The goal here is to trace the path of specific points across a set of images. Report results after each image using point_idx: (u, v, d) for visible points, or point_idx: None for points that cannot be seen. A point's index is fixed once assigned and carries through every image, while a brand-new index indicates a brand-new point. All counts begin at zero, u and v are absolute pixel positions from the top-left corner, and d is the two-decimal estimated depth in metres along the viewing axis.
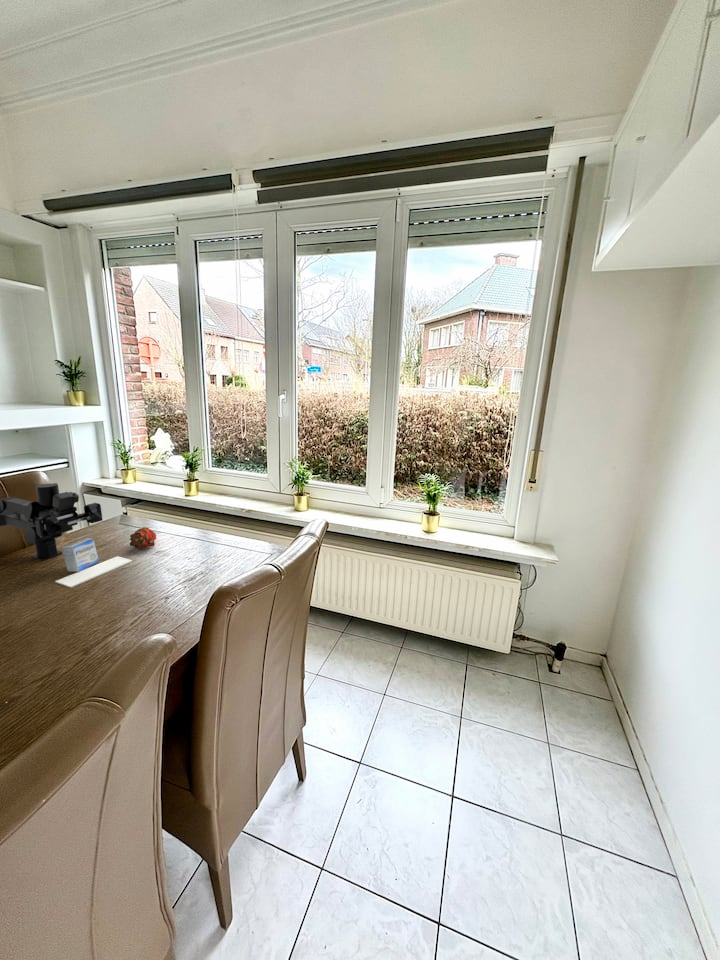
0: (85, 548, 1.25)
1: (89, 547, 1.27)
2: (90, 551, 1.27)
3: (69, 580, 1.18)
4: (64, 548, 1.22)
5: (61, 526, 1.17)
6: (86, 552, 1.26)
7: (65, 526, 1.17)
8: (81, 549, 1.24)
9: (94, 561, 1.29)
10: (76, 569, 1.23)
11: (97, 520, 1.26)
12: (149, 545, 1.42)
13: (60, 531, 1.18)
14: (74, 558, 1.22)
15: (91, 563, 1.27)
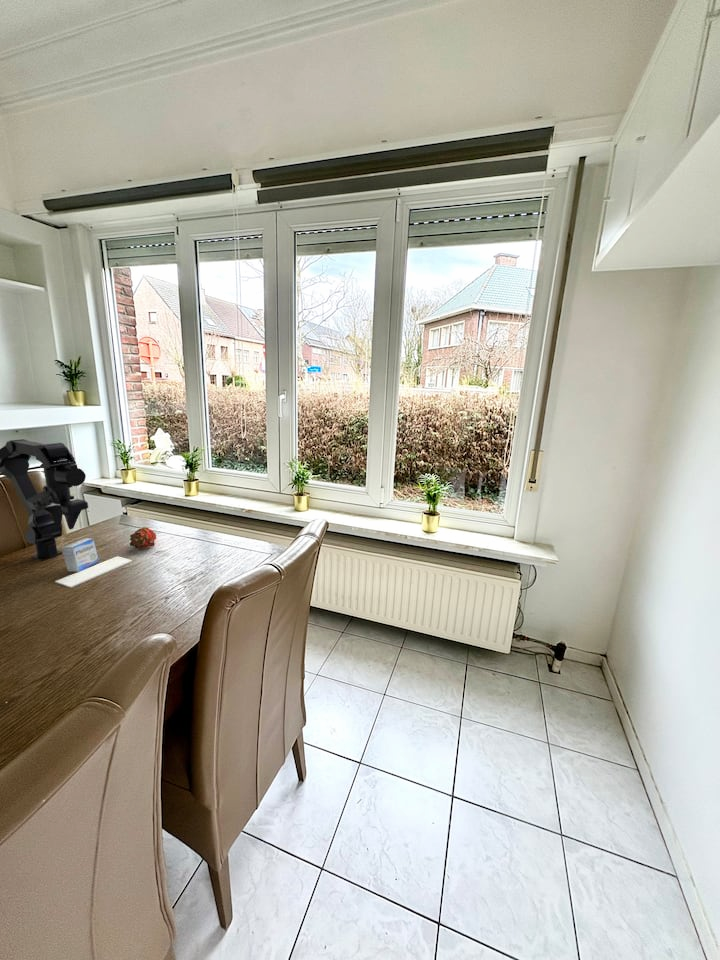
0: (85, 548, 1.25)
1: (89, 547, 1.27)
2: (90, 551, 1.27)
3: (69, 580, 1.18)
4: (64, 548, 1.22)
5: None
6: (86, 552, 1.26)
7: None
8: (81, 549, 1.24)
9: (94, 561, 1.29)
10: (76, 569, 1.23)
11: None
12: (149, 545, 1.42)
13: None
14: (74, 558, 1.22)
15: (91, 563, 1.27)
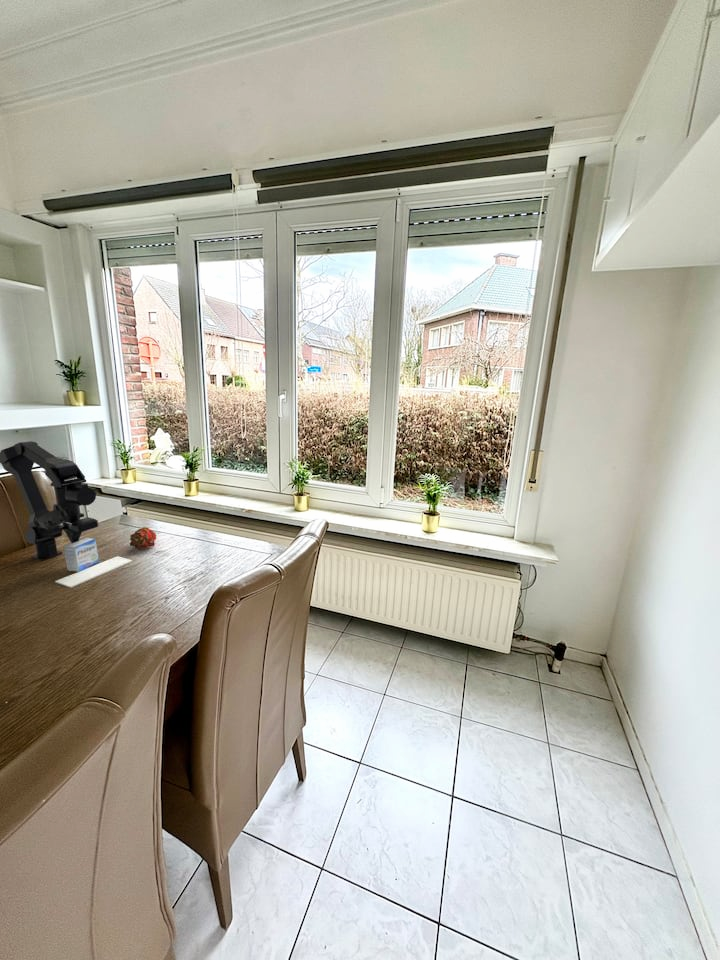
0: (87, 548, 1.25)
1: (91, 547, 1.27)
2: (91, 551, 1.27)
3: (69, 580, 1.18)
4: (66, 547, 1.22)
5: None
6: (87, 552, 1.26)
7: None
8: (83, 549, 1.24)
9: (94, 561, 1.29)
10: (76, 569, 1.23)
11: None
12: (149, 545, 1.42)
13: None
14: (76, 558, 1.22)
15: (91, 563, 1.27)
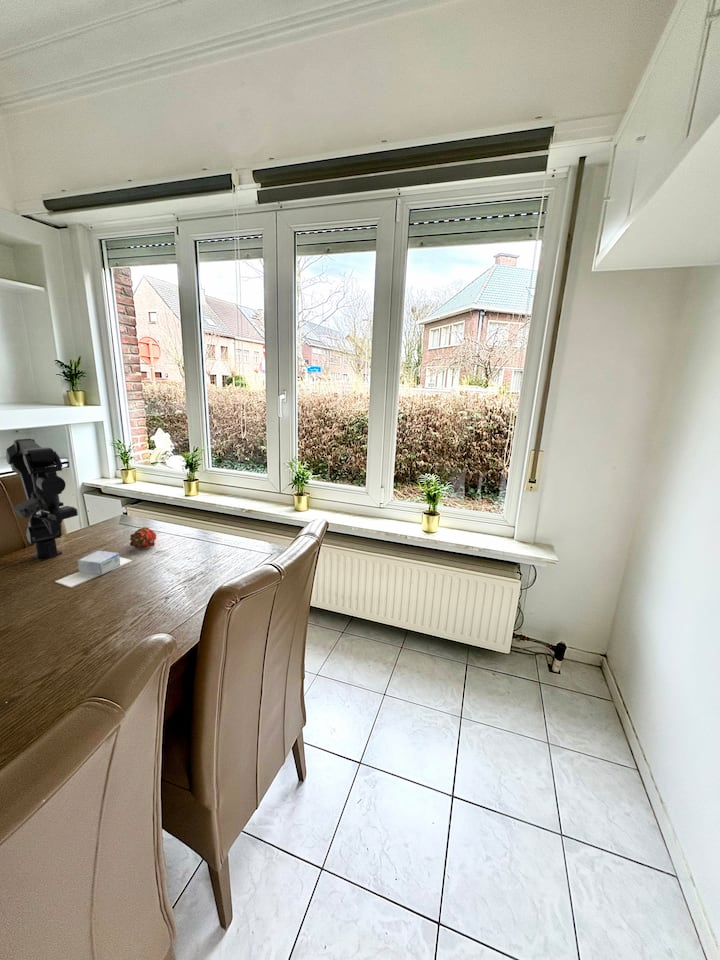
0: None
1: None
2: None
3: (69, 580, 1.18)
4: (99, 566, 1.21)
5: None
6: None
7: None
8: None
9: None
10: (81, 571, 1.23)
11: None
12: (149, 545, 1.42)
13: None
14: (91, 573, 1.22)
15: None
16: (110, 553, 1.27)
